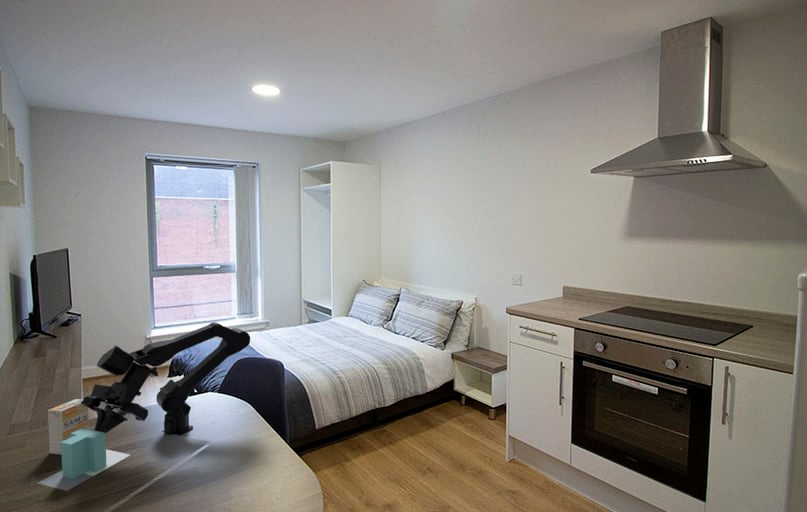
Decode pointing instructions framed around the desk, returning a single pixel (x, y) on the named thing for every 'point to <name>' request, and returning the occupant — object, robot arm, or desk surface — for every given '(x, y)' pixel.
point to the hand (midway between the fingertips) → (94, 439)
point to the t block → (83, 453)
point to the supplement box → (66, 422)
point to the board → (66, 483)
